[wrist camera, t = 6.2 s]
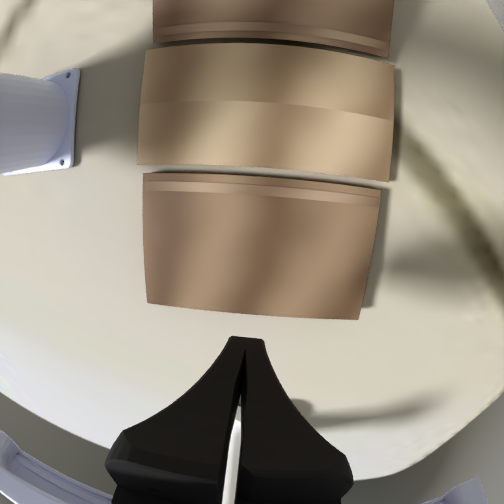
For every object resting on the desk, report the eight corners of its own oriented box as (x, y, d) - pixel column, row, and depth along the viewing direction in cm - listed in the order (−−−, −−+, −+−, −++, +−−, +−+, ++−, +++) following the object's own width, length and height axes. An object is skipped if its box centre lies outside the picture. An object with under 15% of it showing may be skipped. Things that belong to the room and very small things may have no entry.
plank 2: (152, 297, 20) (146, 303, 19) (149, 173, 18) (142, 173, 17) (354, 313, 20) (358, 320, 19) (375, 189, 17) (381, 190, 16)
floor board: (143, 163, 18) (137, 164, 17) (151, 53, 15) (146, 49, 14) (382, 180, 17) (388, 182, 16) (388, 68, 15) (394, 65, 14)
